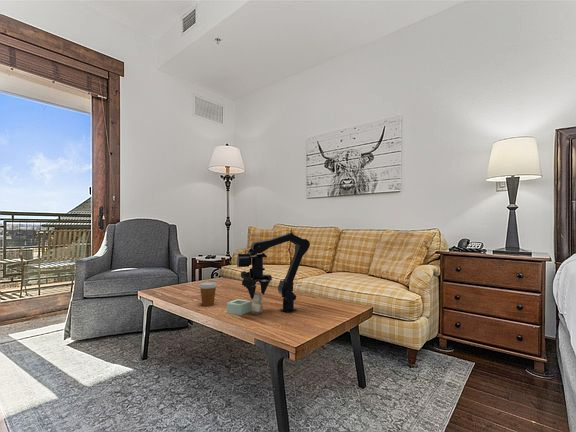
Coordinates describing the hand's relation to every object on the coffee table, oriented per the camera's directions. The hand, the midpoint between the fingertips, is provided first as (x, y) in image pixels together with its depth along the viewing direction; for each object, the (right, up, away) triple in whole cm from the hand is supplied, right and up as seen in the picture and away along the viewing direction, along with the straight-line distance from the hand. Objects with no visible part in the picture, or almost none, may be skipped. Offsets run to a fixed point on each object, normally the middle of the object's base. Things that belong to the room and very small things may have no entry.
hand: (257, 296), depth 156 cm
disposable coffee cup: (-30, -9, +17) cm, 35 cm away
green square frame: (-10, -9, +3) cm, 13 cm away
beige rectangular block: (0, -9, 0) cm, 9 cm away
